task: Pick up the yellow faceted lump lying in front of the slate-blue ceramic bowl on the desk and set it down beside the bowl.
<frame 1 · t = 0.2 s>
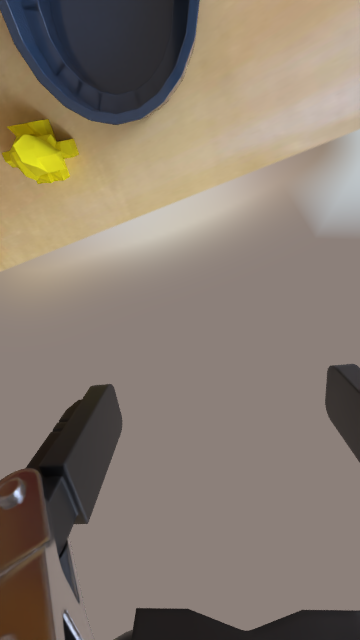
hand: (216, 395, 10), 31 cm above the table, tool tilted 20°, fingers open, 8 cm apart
bowl: (114, 14, 24), on the table
yellow faceted lump: (46, 151, 31), on the table
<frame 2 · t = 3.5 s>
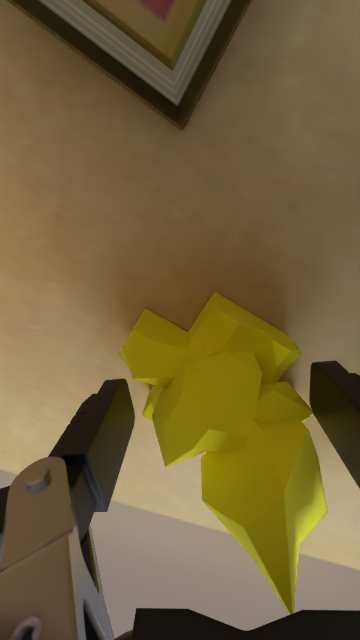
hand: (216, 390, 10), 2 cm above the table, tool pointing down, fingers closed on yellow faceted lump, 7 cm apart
yellow faceted lump: (213, 363, 12), on the table, touching gripper
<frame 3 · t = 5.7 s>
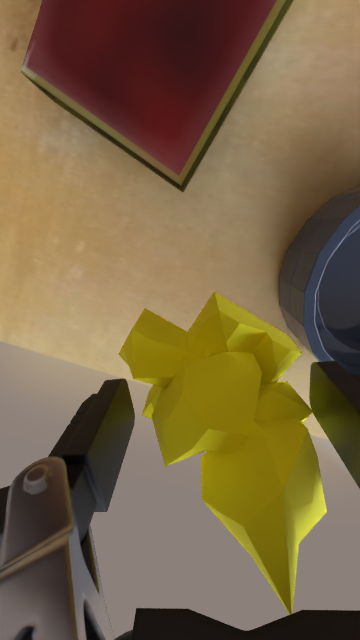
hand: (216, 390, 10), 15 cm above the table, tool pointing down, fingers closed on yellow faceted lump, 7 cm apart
yellow faceted lump: (213, 363, 12), point 13 cm above the table, touching gripper
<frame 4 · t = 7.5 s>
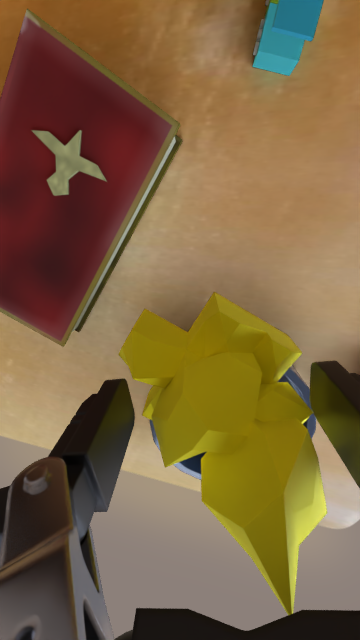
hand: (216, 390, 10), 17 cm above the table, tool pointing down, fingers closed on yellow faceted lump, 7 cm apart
hardcover book: (70, 213, 24), on the table
bowl: (224, 388, 30), on the table
yellow faceted lump: (213, 363, 12), point 15 cm above the table, touching gripper
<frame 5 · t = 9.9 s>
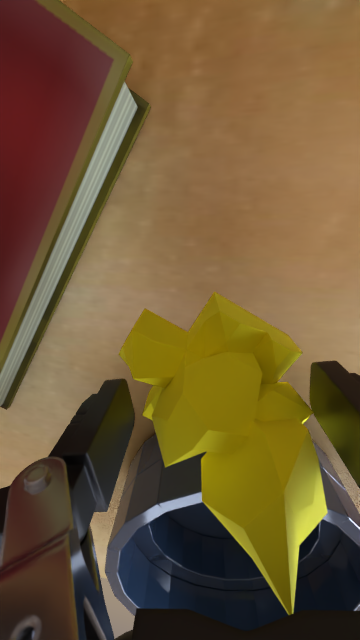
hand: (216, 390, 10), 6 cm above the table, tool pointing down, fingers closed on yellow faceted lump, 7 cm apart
bowl: (226, 484, 20), on the table
yellow faceted lump: (213, 363, 12), point 4 cm above the table, touching gripper
when the fingers open (2 cm above the table, at t = 11.7 s): yellow faceted lump stays where it is, on the table.
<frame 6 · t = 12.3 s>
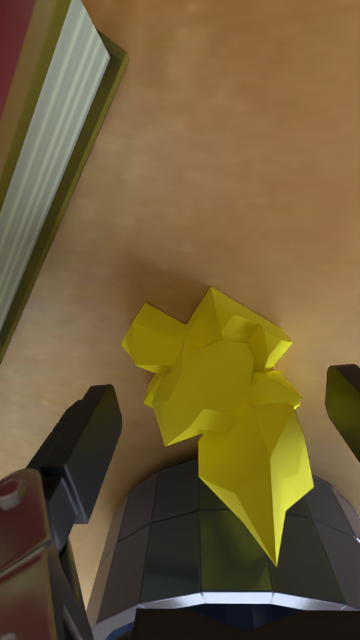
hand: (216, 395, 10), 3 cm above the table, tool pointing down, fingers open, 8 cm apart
bowl: (230, 536, 17), on the table
yellow faceted lump: (210, 354, 12), on the table
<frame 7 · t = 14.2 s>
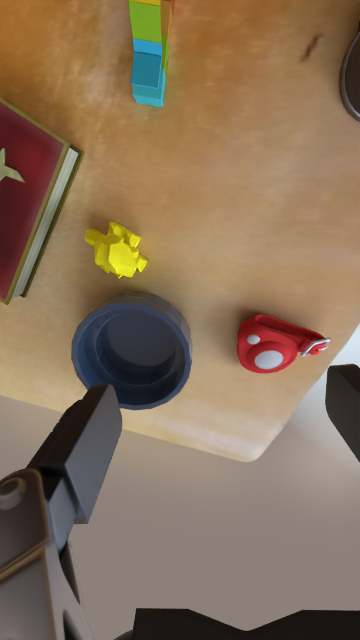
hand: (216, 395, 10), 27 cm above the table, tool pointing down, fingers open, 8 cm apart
hardcover book: (10, 206, 33), on the table
tracker holder: (274, 343, 38), on the table
bowl: (139, 341, 38), on the table
yellow faceted lump: (119, 249, 34), on the table
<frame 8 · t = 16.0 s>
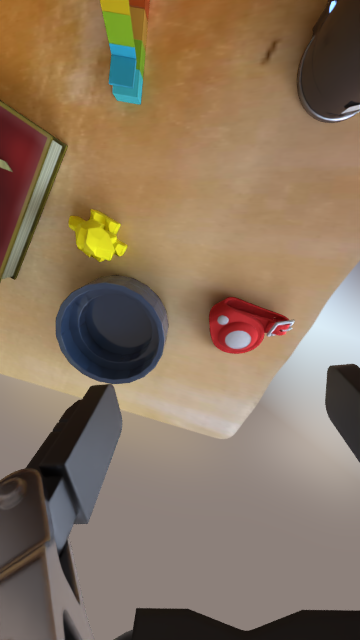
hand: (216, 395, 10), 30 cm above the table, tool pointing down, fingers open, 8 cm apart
hardcover book: (1, 194, 36), on the table
tracker holder: (245, 325, 41), on the table
bowl: (121, 322, 42), on the table
yellow faceted lump: (101, 235, 37), on the table
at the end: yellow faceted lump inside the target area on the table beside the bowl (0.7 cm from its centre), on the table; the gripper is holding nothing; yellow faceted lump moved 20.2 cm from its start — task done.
